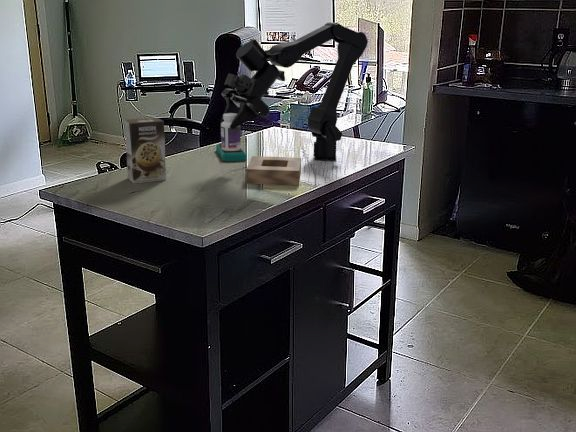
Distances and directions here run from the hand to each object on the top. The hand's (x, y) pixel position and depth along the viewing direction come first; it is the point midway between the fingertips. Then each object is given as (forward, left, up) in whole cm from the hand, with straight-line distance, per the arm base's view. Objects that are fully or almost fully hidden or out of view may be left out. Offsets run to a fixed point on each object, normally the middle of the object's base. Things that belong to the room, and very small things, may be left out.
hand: (226, 126), depth 175 cm
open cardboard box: (-14, +3, -13) cm, 19 cm away
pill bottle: (-1, -1, -7) cm, 7 cm away
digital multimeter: (+2, -20, -14) cm, 24 cm away
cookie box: (+20, +9, -13) cm, 26 cm away
